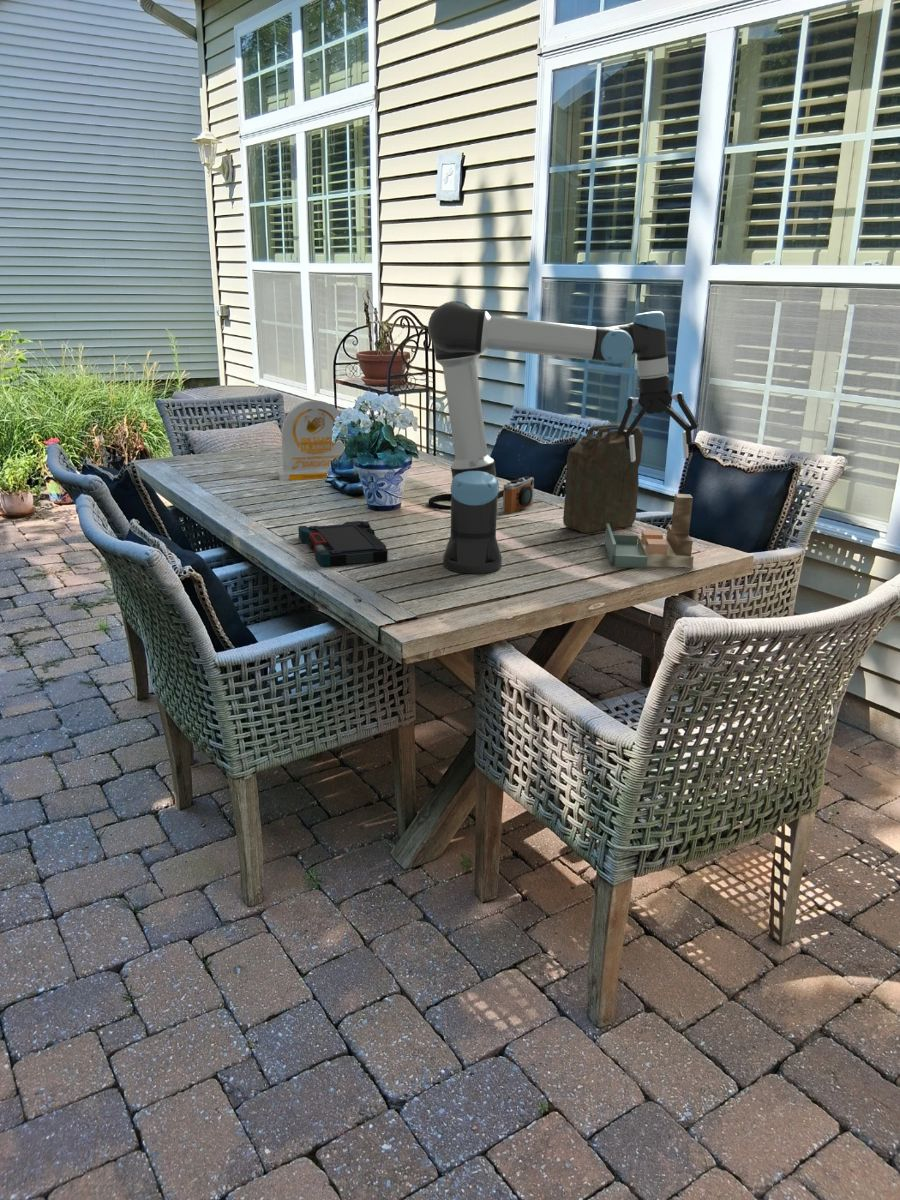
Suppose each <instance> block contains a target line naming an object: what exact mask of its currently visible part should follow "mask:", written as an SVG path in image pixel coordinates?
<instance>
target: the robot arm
mask: <svg viewBox="0 0 900 1200" xmlns="http://www.w3.org/2000/svg"><path fill="white" fill-rule="evenodd" d="M427 329H428V331H427V332H428V335H429V339H430V341H431V342H432V343H433V350H434V357H435V362H437V363H438V364H439V365H441V366H442V371H443V379H444V385H445V394H446V399H447V408H448V414H449V416H448V417H449V422H450V429H451V435H452V436H451V437H452V443H453V451H454V460H453V462H452V463H451V465H450V470H451V483H450V484H451V485H450V494H451V501H450V506H451V510H450V536H449V539H448V541H447V544H446V547H445V551H444V553H443V557H442V559H443V560H442V561H443V563H442V565H443V567H444V568H445V569H447V570H449V571H451V572H452V571H453V572H455V573H460V574H472V575H473V574H475V575H479V574H488V573H493V572H496V571H498V570H500V569H501V568H502V566H503V565H502V564H503V558H502V557H503V556H502V554H501V551H500V546H499V543H498V539H497V518H498V517H497V516H498V514H497V513H498V499H497V498H498V493H499V492H500V491H499V490H500V487H499V480H498V477H496V476H497V471H496V465H495V464H496V463H495V460H494V458H492V457H491V456H490V455H489V454H488V447H487V439H486V430H485V423H484V422H485V421H484V417H483V407H482V401H481V400H482V399H481V398H482V397H481V392H480V383H479V376H478V369H477V368H478V367H477V362H478V361H477V360H478V359H479V358H480V356H481V355H482V354H483V353H484V352H485V351H486V350H493V351H503V352H512V353H523V354H532V355H533V354H534V355H543V356H554V357H561V358H562V357H563V358H572V359H582V360H591V361H598V362H599V361H600V362H608V363H610V364H621V363H623V362H626V361H627V360H628V359H629V358H630V357H631V356H632V355H636V365H637V366H636V367H637V376H638V377H640V378H639V379H638V388H639V391H638V392H639V397H633V396H629V397H628V399H627V400H626V401H627V403H626V404H627V405H626V408H625V411H624V415H623V416H622V417H623V418H622V419H621V422H620V423H621V424H620V427H619V429H618V432H617V434H618V435H622V436H624V437H625V443H626V449H630V456H631V462H634V461H635V460H636V455H635V443H634V435H631V433H632V431H633V430H634V429H635V427H638V425H639V423H640V421H641V420H642V419H643V417H644V416H645V415H646V414H649V415H652V414H662V413H664V412H665V413H666V414H668V415H669V416H670V417H671V418H672V419H673V420H674V422H676V423H677V424H678V425H679V426H680V427H681V428H682V429H683V432H682V444H683V445H682V446H683V459H688V457H689V445H691V444H692V442H693V437H692V436H693V435H692V431H693V430H696V429H697V428H698V427H699V422H698V421H697V419H696V418H695V416H694V414H693V412H692V411H691V409H690V407H689V406H688V404H687V402H686V401H685V397H684V392H682V391H679V392H678V393H674V394H672V393H671V387H670V386H671V385H670V375H668V373H669V359H668V344H667V328H666V321H665V314H664V312H662V311H661V310H654V311H646V312H642V313H641V312H640V313H636V314H634V316H633V321H632V322H630V323H627V324H621V325H618V324H617V325H613V326H606V327H605V326H604V327H602V326H601V327H598V326H591V325H580V324H570V323H560V322H552V321H551V322H549V321H543V320H542V321H541V320H540V321H539V320H533V319H524V318H523V319H521V318H513V317H512V318H511V317H502V316H496V315H495V316H492V315H490V314H489V312H488V311H486V310H481V309H480V310H479V309H473V308H472V307H471V306H470V305H468V304H466V303H465V302H462V301H458V300H457V301H448V302H444V303H443V304H441V305H439V306H438V307H436V308H435V309H434V310H433V311H432V313H431V315H430V317H429V319H428V324H427ZM672 400H674V402H676V403H677V404H678V405H679V407H680V409H681V411H682V413H683V414H684V416H685V417H686V419H687V420H688V421H686V420H685V419H684V418H683V417H682V416H681V415H680V414H679V413H678V412H677V411H676V410H675V409H674V407H673V406H672V405H671V404H670V403H671V402H672ZM637 403H638V404H639V405H640V406H641V407H642V409H641V410H640V411H639V413H638V414H637V416H636V417H635V418H634V419H633V421H632V423H631V424H629V425H630V427H629V428H628V430H627V431H626V430H625V427H626V425H628V422H629V419H630V417H631V414H632V411H633V409H634V407H636V405H637ZM688 422H689V423H688Z"/></svg>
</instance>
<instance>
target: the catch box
mask: <svg viewBox="0 0 900 1200" xmlns="http://www.w3.org/2000/svg"><path fill="white" fill-rule="evenodd" d="M612 530H613V529H611V527H610V524H606V530H605V536H604V547H605V550H606V553H608V554H607V557H608V560H609V563H610V566H613V567H616V568H617V567H618V568H636V569H637V568H640V569H647V568H648V566H647V556H642V554H641V551H640V549H639V547H638V537H639V535H638V534H618V533H616V534H615V533H613V531H612Z"/></svg>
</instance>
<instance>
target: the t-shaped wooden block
mask: <svg viewBox="0 0 900 1200" xmlns="http://www.w3.org/2000/svg"><path fill="white" fill-rule="evenodd" d="M693 499H694V497H693V496H692V495H691V494H690V493H689V494H688V493H687V494H686V493H674V500H673V510H672V519H671V524H667V528H666V529H667V530H666V537H665V538H666V539H667V541H668V543H669V544H670V546H671V548H672V550H673V552H674V554H675V555H681V556H691V554H692V550H693V543H694V542H693V539H692V537H691V536H690V535H689V534H690V526H691V518H692V508H693V501H694V500H693Z"/></svg>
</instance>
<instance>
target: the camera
mask: <svg viewBox="0 0 900 1200" xmlns="http://www.w3.org/2000/svg"><path fill="white" fill-rule="evenodd" d="M496 478H501V479H505V480H508V481H504V482H507V483H504V484H503V490H501V491H499V492H498V498H497V500H499V499H501V498H503V499H502V513H504V514H509V515H512V514H514V513H517V512H519V511H521V510H522V511H523V510H524V509H527V508H529V507H531V506H533V505H534V488H535V478H534V477H531V476H529V475H528V476H523V477H512V476H501V475H496ZM446 501H447V502H451V493H444V494H443V493H442V494H437V495H434V496H432V497H430V498H428V504H427V505H428V507H429V508H431V509H435V510H445V511H446V510H447V511H451V505H447V504H439V503H438V502H446Z"/></svg>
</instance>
